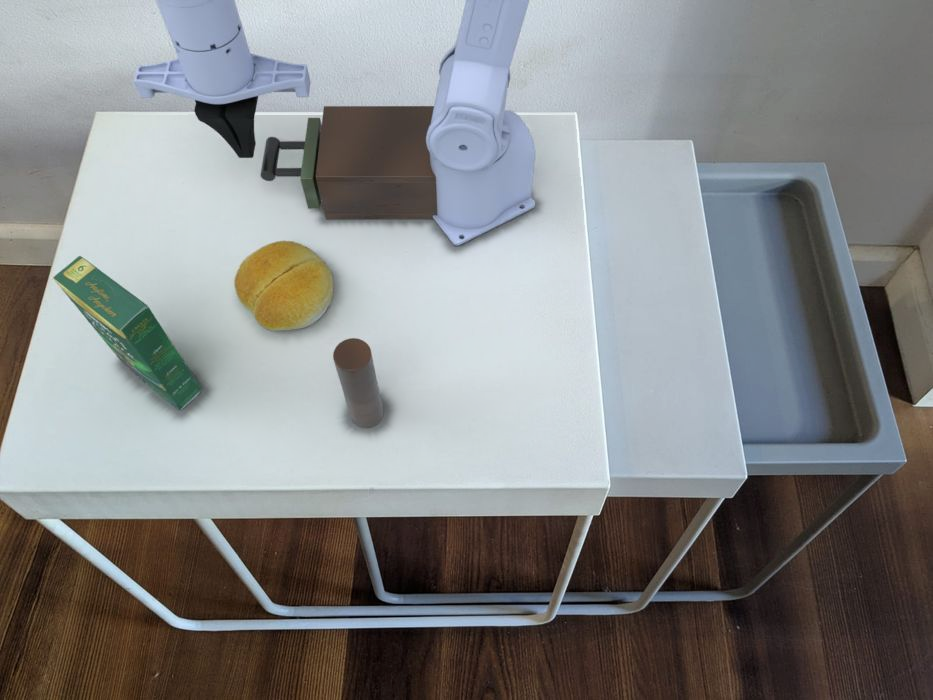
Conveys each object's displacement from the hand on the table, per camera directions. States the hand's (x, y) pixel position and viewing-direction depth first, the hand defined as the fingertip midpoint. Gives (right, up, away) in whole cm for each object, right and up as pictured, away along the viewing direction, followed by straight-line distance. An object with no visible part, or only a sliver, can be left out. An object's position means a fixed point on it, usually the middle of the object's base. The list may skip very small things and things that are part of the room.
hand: (247, 150), depth 74 cm
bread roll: (+4, -14, -2) cm, 15 cm away
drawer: (+9, -2, +3) cm, 10 cm away
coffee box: (-6, -21, -6) cm, 23 cm away
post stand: (+13, -24, -8) cm, 29 cm away
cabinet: (+13, -2, +4) cm, 14 cm away
